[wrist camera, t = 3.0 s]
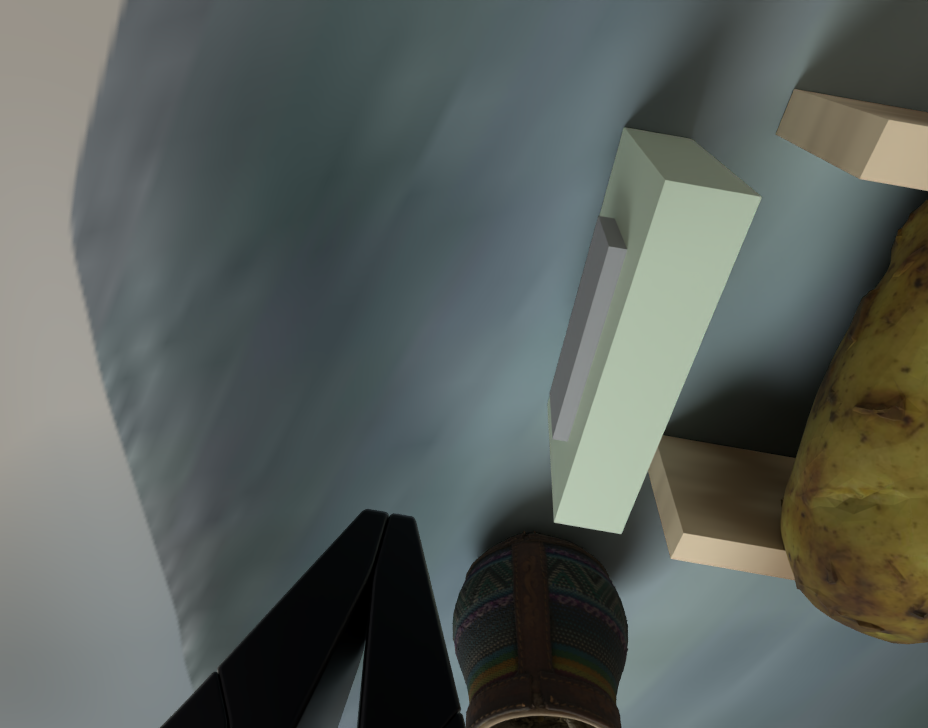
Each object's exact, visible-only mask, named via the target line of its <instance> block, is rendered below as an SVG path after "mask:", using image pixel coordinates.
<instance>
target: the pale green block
mask: <svg viewBox="0 0 928 728" xmlns="http://www.w3.org/2000/svg"><path fill="white" fill-rule="evenodd" d="M761 198H762V197H761V196H760V195H759V194H758V193H757V192H755V191H754V190H753V189H752V188H751V187H749V186H748V185H747V184H746V183H745V182H743V181H742V180H741V179H740V178H738V177H737V176H736V175H735V174H734V173H732V172H731V171H730V170H729V169H728V168H726V167H725V166H724V165H723V164H722V163H720V162H719V161H718V160H717V159H715V158H714V157H713V156H712V155H711V154H709V153H708V152H707V151H706V150H705V149H703V148H702V147H701V146H700V145H699V144H697V143H696V142H695V141H694V140H693V139H689V138H683V137H678V136H672V135H666V134H661V133H655V132H649V131H644V130H638V129H632V128H626V127H624V128H623V132H622V136H621V139H620V143H619V147H618V150H617V154H616V157H615V161H614V165H613V168H612V172H611V176H610V179H609V183H608V186H607V190H606V194H605V197H604V201H603V205H602V208H601V212H600V215H599V216H598V219H597V223H596V226H595V230H594V234H593V237H592V241H591V245H590V248H589V252H588V256H587V259H586V263H585V266H584V270H583V274H582V277H581V281H580V285H579V288H578V292H577V296H576V299H575V303H574V306H573V310H572V314H571V317H570V321H569V325H568V328H567V332H566V336H565V339H564V343H563V346H562V350H561V354H560V357H559V361H558V365H557V368H556V372H555V376H554V379H553V383H552V387H551V390H550V397H549V400H548V423H549V441H550V460H551V478H552V497H553V515H554V523H560V524H566V525H571V526H577V527H583V528H589V529H594V530H600V531H606V532H612V533H617V534H622V531H623V529H624V526H625V524H626V522H627V519H628V517H629V515H630V512H631V510H632V507H633V505H634V503H635V500H636V498H637V495H638V493H639V491H640V488H641V486H642V483H643V481H644V479H645V476H646V474H647V471H648V469H649V467H650V464H651V462H652V459H653V457H654V455H655V452H656V450H657V447H658V445H659V443H660V440H661V438H662V435H663V433H664V431H665V428H666V426H667V423H668V421H669V419H670V416H671V414H672V411H673V409H674V407H675V404H676V402H677V399H678V397H679V395H680V392H681V390H682V387H683V385H684V383H685V380H686V378H687V375H688V373H689V371H690V368H691V366H692V364H693V361H694V359H695V356H696V354H697V352H698V349H699V347H700V344H701V342H702V340H703V337H704V335H705V332H706V330H707V328H708V325H709V323H710V320H711V318H712V316H713V313H714V311H715V308H716V306H717V304H718V301H719V299H720V296H721V294H722V292H723V289H724V287H725V284H726V282H727V280H728V277H729V275H730V272H731V270H732V268H733V265H734V263H735V260H736V258H737V256H738V253H739V251H740V248H741V246H742V244H743V241H744V239H745V236H746V234H747V232H748V229H749V227H750V224H751V222H752V220H753V217H754V215H755V213H756V210H757V208H758V205H759V203H760V201H761Z"/></svg>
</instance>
